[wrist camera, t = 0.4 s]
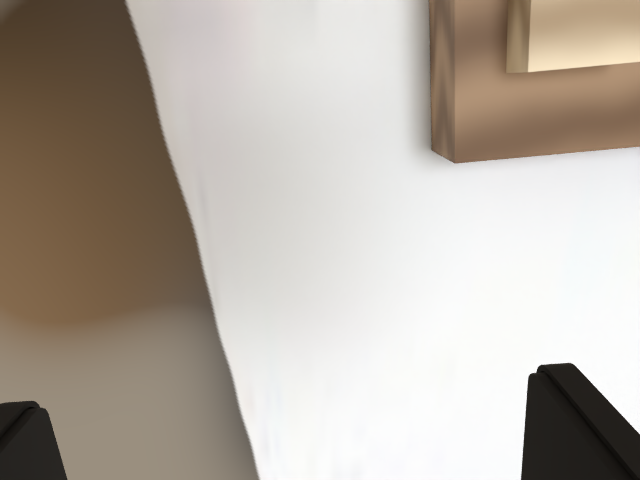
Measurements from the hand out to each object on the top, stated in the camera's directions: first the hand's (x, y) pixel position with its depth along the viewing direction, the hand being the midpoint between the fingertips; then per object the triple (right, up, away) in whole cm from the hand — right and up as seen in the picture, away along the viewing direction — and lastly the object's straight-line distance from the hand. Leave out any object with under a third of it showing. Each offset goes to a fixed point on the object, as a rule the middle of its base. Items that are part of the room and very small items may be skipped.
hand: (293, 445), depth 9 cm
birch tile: (+14, +17, +18) cm, 28 cm away
